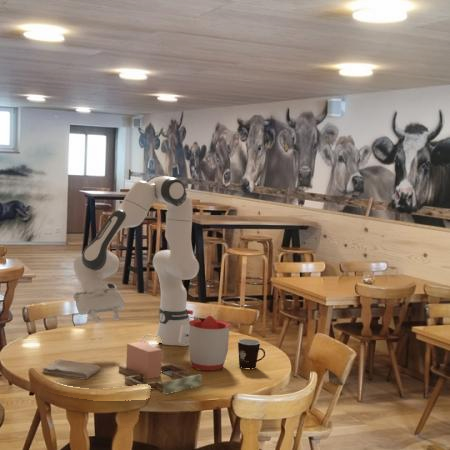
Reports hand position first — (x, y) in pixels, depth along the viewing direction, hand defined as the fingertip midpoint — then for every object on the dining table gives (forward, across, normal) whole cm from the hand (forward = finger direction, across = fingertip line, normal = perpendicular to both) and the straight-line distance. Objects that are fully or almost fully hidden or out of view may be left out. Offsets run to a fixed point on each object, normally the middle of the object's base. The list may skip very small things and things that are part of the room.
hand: (107, 320), depth 264 cm
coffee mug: (+40, +38, -19) cm, 58 cm away
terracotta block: (+27, 0, -6) cm, 28 cm away
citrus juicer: (+32, +26, -11) cm, 42 cm away
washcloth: (+17, -20, +5) cm, 27 cm away
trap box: (+32, 0, -12) cm, 35 cm away
